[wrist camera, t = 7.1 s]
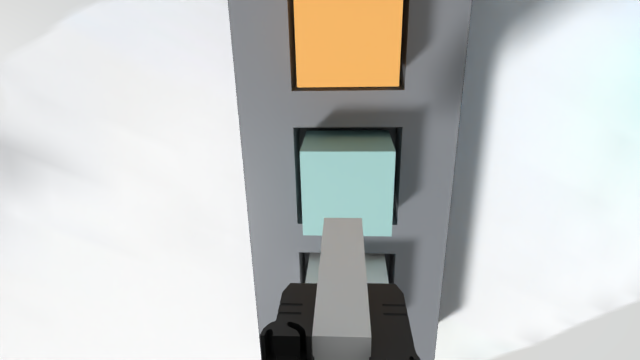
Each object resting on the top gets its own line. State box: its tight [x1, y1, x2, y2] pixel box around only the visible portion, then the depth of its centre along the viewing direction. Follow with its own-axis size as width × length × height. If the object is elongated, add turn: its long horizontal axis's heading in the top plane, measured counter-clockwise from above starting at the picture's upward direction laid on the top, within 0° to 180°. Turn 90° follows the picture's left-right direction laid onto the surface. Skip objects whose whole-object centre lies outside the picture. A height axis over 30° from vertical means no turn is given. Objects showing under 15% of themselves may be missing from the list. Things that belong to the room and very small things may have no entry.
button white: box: [305, 253, 389, 284], centre depth 27 cm, size 5×5×4 cm
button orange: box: [294, 0, 403, 87], centre depth 21 cm, size 5×5×4 cm
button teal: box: [300, 130, 396, 236], centre depth 24 cm, size 5×5×4 cm
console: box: [228, 0, 472, 360], centre depth 26 cm, size 12×28×4 cm, turn 1°
